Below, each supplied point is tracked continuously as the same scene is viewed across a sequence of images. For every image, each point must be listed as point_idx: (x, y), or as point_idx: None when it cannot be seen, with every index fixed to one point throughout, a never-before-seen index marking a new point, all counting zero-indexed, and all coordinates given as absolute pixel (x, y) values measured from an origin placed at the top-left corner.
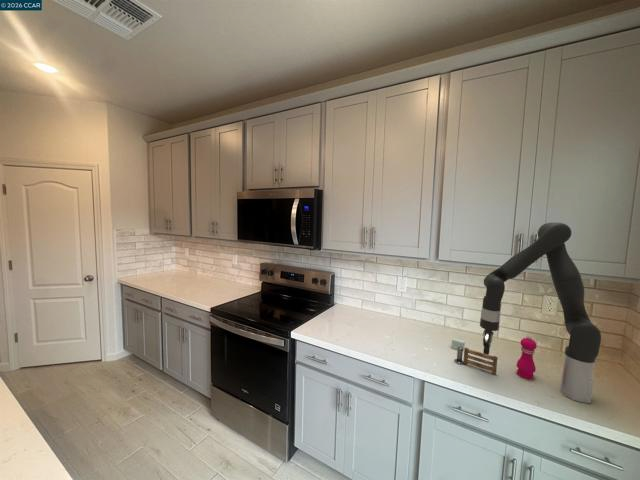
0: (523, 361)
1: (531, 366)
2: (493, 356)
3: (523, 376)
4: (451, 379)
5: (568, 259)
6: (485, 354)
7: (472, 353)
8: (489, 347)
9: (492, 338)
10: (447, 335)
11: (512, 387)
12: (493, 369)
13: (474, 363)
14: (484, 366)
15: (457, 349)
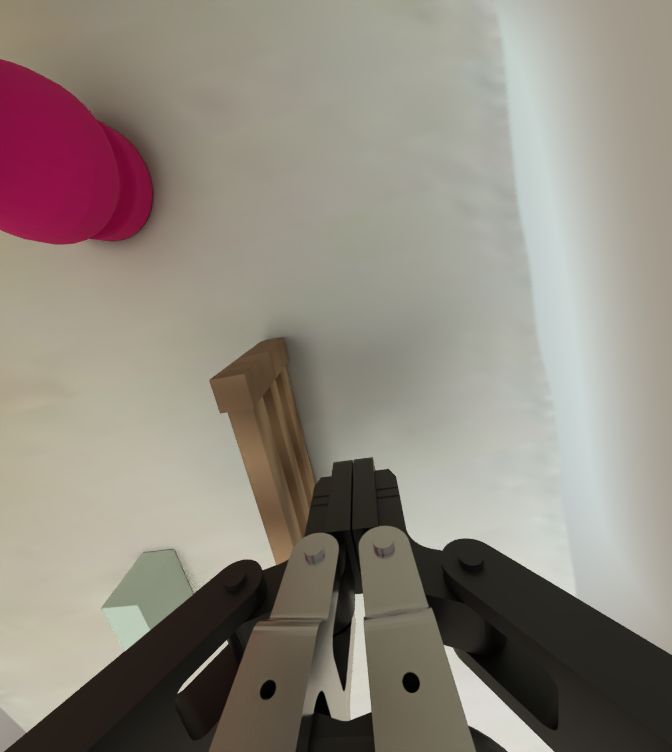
0: (20, 155)
1: (16, 76)
2: (230, 410)
3: (144, 181)
4: (557, 493)
5: None
6: (257, 470)
7: (299, 538)
8: (397, 530)
9: (249, 706)
10: (70, 653)
11: (357, 205)
12: (280, 360)
13: (306, 469)
14: (292, 415)
15: (183, 576)
